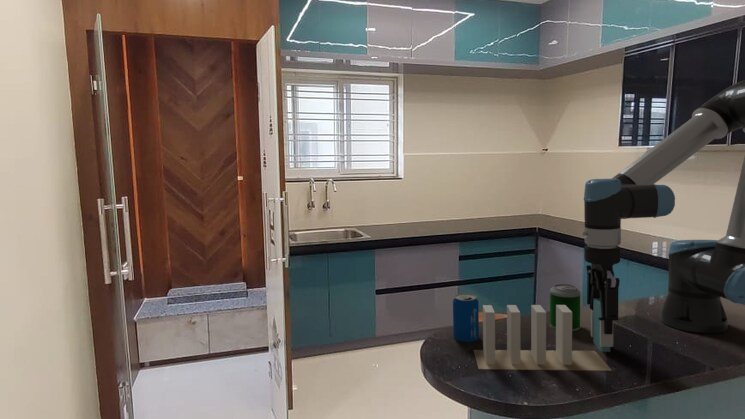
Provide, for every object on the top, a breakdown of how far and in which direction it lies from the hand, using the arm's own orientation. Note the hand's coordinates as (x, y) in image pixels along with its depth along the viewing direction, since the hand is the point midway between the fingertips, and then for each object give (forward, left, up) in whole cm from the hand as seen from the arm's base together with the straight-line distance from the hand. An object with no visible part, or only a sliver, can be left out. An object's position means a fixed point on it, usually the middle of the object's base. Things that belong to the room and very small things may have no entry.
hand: (601, 340), depth 108 cm
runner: (+16, +7, -3) cm, 18 cm away
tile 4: (+22, +7, -2) cm, 23 cm away
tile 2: (+11, +7, -2) cm, 13 cm away
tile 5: (+27, +7, -2) cm, 28 cm away
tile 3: (+16, +7, -2) cm, 18 cm away
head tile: (0, 0, -2) cm, 2 cm away
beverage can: (+31, -6, -3) cm, 32 cm away
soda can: (+4, -14, -3) cm, 15 cm away
